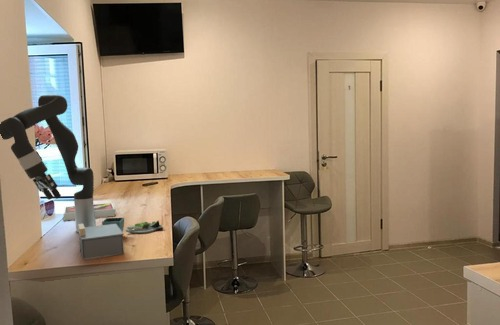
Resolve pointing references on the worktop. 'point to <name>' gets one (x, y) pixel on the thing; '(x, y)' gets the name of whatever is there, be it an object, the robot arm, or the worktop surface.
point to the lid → (98, 231)
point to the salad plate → (144, 227)
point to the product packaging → (99, 209)
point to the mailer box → (101, 247)
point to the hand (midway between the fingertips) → (54, 198)
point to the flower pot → (114, 222)
